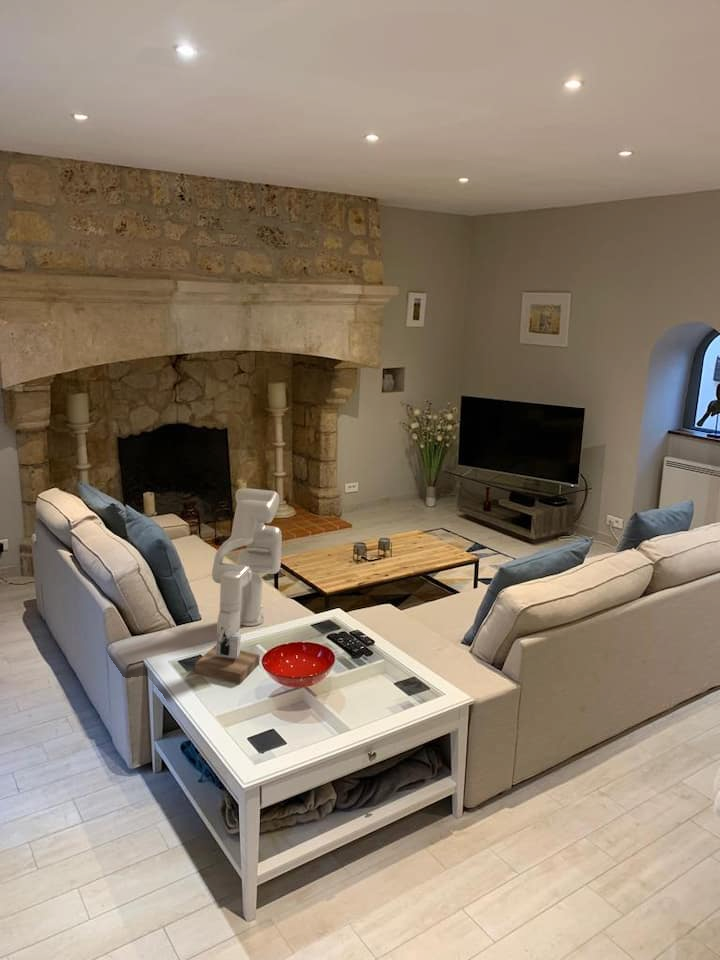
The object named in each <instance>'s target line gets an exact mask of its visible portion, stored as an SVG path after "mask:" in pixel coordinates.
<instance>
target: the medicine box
mask: <svg viewBox="0 0 720 960" xmlns="http://www.w3.org/2000/svg"><path fill="white" fill-rule="evenodd" d="M224 636H226V635H224ZM241 636H242V634H241V631H238V632H236V633H235V634H234V635H232V636H231V637H230V638H229V643H228V645H229V655H228V656H227V655H222V654H220V649H221V645H220V642H218V639H219V637H218V636H217V635H216V645H217V646H216V656H222V657H230V658H237V657H238V656H239V654H240V650H241ZM223 640H225V641H226V639H225V638H224V639H223Z"/></svg>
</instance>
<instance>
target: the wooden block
mask: <svg viewBox="0 0 720 960" xmlns="http://www.w3.org/2000/svg"><path fill="white" fill-rule="evenodd" d="M216 646H217V644H215V645H214V646H213V647H211V648H210V649H209V651H207V652H205V654H204V655H203V656H201V657H200V658H199V659H198V660H196V662H195V663H194V674H196V675H200V676H205V677H209V678H214V679H218V680H221V681H225V682H228V683H229V682H230V683H233V684H237V685H241V684H242V683H243V682H244V681H245V680H246V679H247V678H248V677H249V676H250V675H251V673H252V672H254V671H255V669H256V668H257V667H258V666H259V665H260V654H258V653H255V652H254V653H253V652H250V651H246V650H241V649H240V654H239V656H238V657H237V658H230V657H222V656H216Z"/></svg>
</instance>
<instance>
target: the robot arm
mask: <svg viewBox="0 0 720 960" xmlns="http://www.w3.org/2000/svg"><path fill="white" fill-rule="evenodd" d="M235 501H236V507H235V511H234V517H233V522H232V528H231V535H230V537H228V539H227V540H225V541H224V542H223V543H222V544H221V545H220V546H219V548H218V549H217V551H216V552H215V555H214V559H213V565H212V572H211V577H212V578H211V579H212V580H213V582H214V583H216V584H220V586H219V587H220V590H219V614H218V617H217V625H216V637H217V636H218V637H219V639H218V642H220V645H221V649H220V654H222V655H227V656H228V655H229V645H228V643H229V638H230V637H231V636H232V635H234V634H235V633H236V632H239V630H240V629H241V628H240V627H241V626H247V627H253V626H259V625H261V624H262V623H264V622H265V616H264V615H263V613H262V609H263V608H264V604H262V597H263V596H262V595H263V580H262V577H261V575H260V574H269V575H270V574H271V575H274V574H277V573H279V571H280V568H281V565H282V561H281V560H282V546H283V545H282V539H283V536H282V530H281V528H280V527H278V526H274V525H273V526H272V525H266V524H271V523H272V521H274V518H275V516H276V514H277V511H278V508H279V507H280V506H279V505H280V495H279V494H278V492H276V491H274V490H269V489H268V490H267V489H257V488H248V487H247V488H243V487H242V488H239V489H237V490H236V491H235ZM244 546H246V547H248V548H246V549H242V550H241V551H240V552H239V554H238V559H237V561H238V564H237V563H225V562H223V561H224V558H225V557H226V555H227V554H228V553H230V552H232V551H234V550H236V549H238V548H241V547H244ZM224 635H226V636H224ZM224 638H225V639H226V641H225V640H223V639H224Z"/></svg>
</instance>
